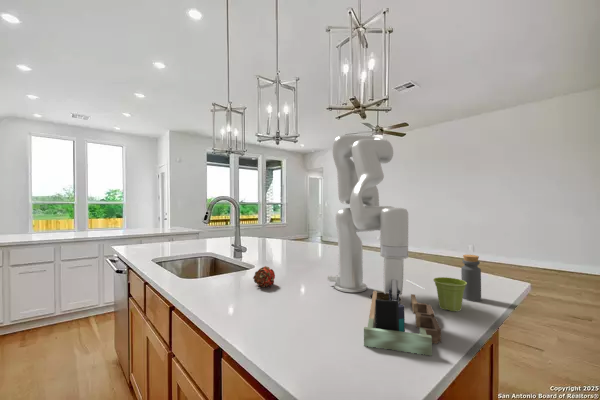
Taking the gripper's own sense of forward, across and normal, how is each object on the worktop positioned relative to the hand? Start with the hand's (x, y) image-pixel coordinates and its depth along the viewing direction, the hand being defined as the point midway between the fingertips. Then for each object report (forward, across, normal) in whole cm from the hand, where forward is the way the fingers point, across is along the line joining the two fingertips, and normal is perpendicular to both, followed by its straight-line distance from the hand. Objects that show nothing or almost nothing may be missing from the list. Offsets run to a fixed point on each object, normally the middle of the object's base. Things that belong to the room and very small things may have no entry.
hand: (393, 315), depth 79 cm
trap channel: (+2, 0, +2) cm, 2 cm away
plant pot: (+2, -16, +17) cm, 23 cm away
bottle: (+2, -28, +26) cm, 38 cm away
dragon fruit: (+3, -20, -50) cm, 54 cm away
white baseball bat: (+3, -34, +12) cm, 37 cm away
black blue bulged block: (+2, +12, -1) cm, 12 cm away
